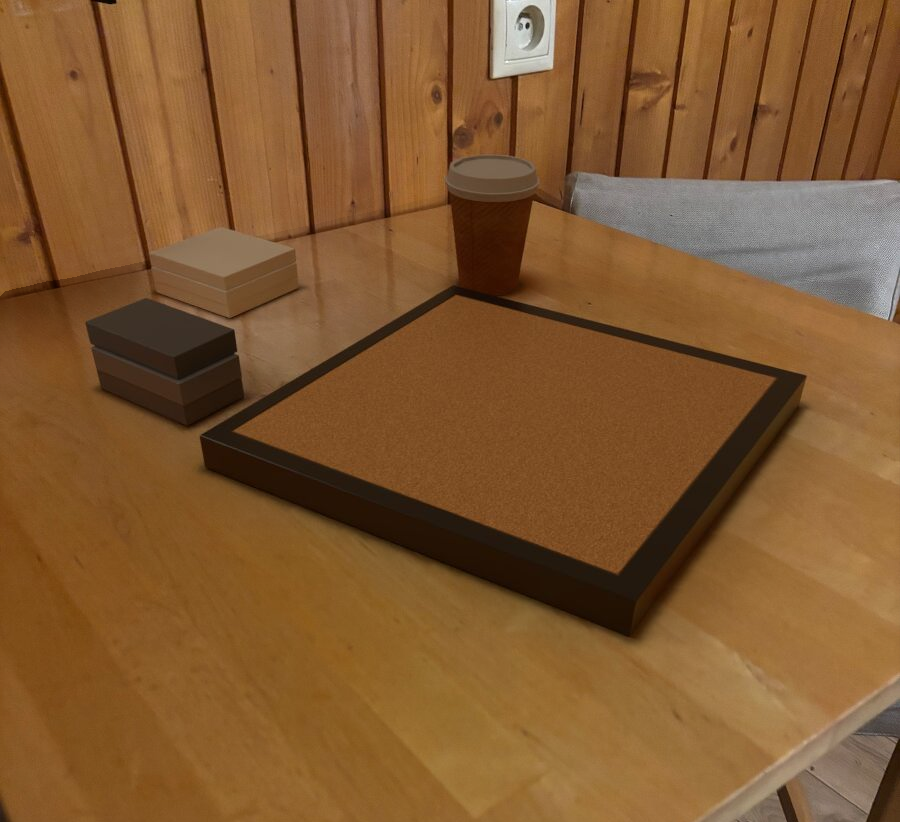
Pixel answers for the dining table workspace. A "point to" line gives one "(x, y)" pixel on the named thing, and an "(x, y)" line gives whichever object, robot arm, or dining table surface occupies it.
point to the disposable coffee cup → (490, 219)
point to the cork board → (518, 446)
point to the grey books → (166, 360)
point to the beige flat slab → (222, 258)
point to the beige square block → (231, 299)
